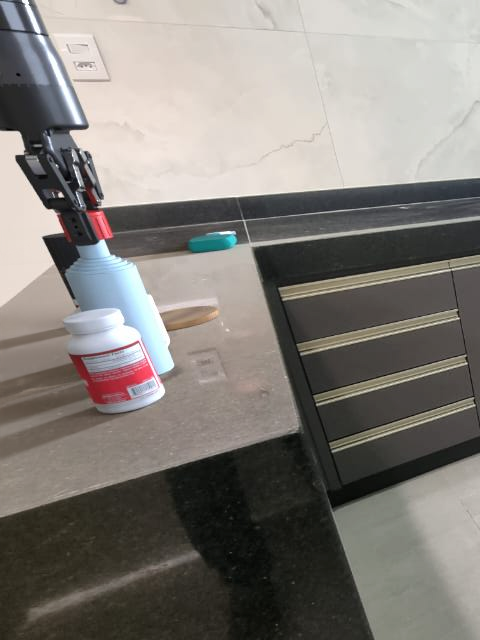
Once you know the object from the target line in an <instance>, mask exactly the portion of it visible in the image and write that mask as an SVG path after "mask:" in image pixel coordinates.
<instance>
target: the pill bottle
mask: <svg viewBox="0 0 480 640" xmlns="http://www.w3.org/2000/svg"><path fill="white" fill-rule="evenodd" d="M70 315H71V314H70ZM62 323H63V325H64V328H65V329H66V331H67V333H68V334H69V335H72V337H70V338H69V339H68V340H67V341H66V343H65V350H66V352H67V355H68V357H69V359H70V360H71V361H72V364H73V365H74V367H75V370H76V372H77V373H78V375H79V378H80V379H81V381H82V383H83V385H84V387H85V388H86V389H85V390H86V391H87V393H88V394H89V396H90V399H91V400H92V402H93V404H94V406H95V407H96V409H97V410H98V411H99V412H100V413H102V414H121V413H122V414H123V413H128V412H131V411H135V410H139V409H142V408H145V407H147V406H148V407H149V406H150V405H152V404H154V403H155V402H158V401H159V400H160V399H162V398H163V396H164V395H165V393H166V390H165V386H164V385H163V382H162V380H161V378H160V375H158V373H157V371H156V369H155V367H154V365H153V362H152V360H151V358H150V356H149V354H148V351H147V349H146V347H145V345H144V342H143V340H142V338H141V336H140V334H139V332H138V331H137V330H135V329H134V328H131V327H128V326H124V325H123V323H124V318H123V316H122V314H121V312H120V310H119V309H116V308H105V309H96V310H90V311H85V312H81V313H77V314H74V315H71V316H69V315H68V316H66V317H64V318H63V319H62Z"/></svg>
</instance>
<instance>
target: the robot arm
mask: <svg viewBox="0 0 480 640" xmlns="http://www.w3.org/2000/svg"><path fill="white" fill-rule="evenodd" d="M75 89H76V88H75V87H74V84H73V82H72V80H71V77H70V75H69V73H68V70H67V68H66V65H65V63H64V61H63V58H62V57H61V55H60V53H59V52H58V50H57V48H56V47H55V45H54V42H53V40H52V38H50V34H49V31H48V29H47V27H46V25H45V22H44V19H43V17H42V14H41V12H40V9H39V8H38V5H37V3H36V1H35V0H0V132H18V133H19V134H20V135H21V140H22V143H23V148H24V150H23V154H15V155H14V158H15V159H14V160H15V162H16V164H17V165H18V167H19V169H20V170H21V171H22V173H23V174H24V177H26V180H27V181H28V182H29V184H30V186H31V187H32V189H33V190H34V192H35V193H36V195H37V197H38V198H39V200H40V201H41V203H42V205H43V207H44V208H45V209H46V210H52V211H54V213H55V214H56V215H57V214H60V213H61V214H60V216H61V219H62V221H63V223H64V225H65V227H66V229H67V232H68V234H69V236H70V238H71V240H72V243H73V244H74V245H76V246H89V245H96V244H98V243H99V242H100V240H99V237H98V235H97V233H96V230H95V228H94V226H93V224H92V221H91V219H90V217H89V214H88V212H86V211H90V210H102V209H101V207H102V203H103V202H102V200H103V201H104V200H105V195H104V192H103V190H102V187H101V183H100V180H99V176H98V173H97V171H96V167H95V164H94V160H93V156H92V154H91V152H90V151H88V150H84V149H83V148H81V147H78V145H77V143H76V141H75V140H74V137H73V136H72V135H71V133H70V132H71V131H87V130H88V129H89V128H90V124H89V121H88V119H87V116H86V114H85V111H84V109H83V106H82V104H81V102H80V99H79V96H78V93H77V92H76V90H75ZM60 193H61V194H62V196H59V194H60Z"/></svg>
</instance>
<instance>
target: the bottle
mask: <svg viewBox="0 0 480 640" xmlns="http://www.w3.org/2000/svg"><path fill="white" fill-rule="evenodd" d="M76 247H77V250H78V252H79V254H80V257H81V258H79V259H77V260H78V261H76V262H74V265H71V266H70V268H69V269H67V270H66V272H67V273H65V276H66V278H67V280H68V282H69V285H70V287H71V289H72V291H73V294H74V296H75V298H76V300H77V303H78V305H79V307H80V309H81V312H85V311H90V310H96V309H105V308H116V309H119V310H120V312H121V314H122V316H123V318H124V323H123V325H124V326H128V327H131V328H134V329H135V330H137V331H138V332H139V334H140V336H141V338H142V340H143V342H144V345H145V347H146V349H147V351H148V354H149V356H150V358H151V360H152V362H153V365H154V367H155V369H156V371H157V373H158V376H161V375H163V374H166V373H168V372H169V371H171V370H173V368H174V367H175V363H174V361H173V357H172V356H171V352H170V350H169V348H168V347H169V346H168V347H167V345H166V342H165V340H164V337H163V335H162V332H161V329H160V327H159V324H158V322H157V319H156V317H155V314H154V311H153V309H152V306H151V304H150V301H149V298H148V296H147V291H146V288H145V286H144V283H143V280H142V278H141V275H140V273H139V271H138V268H137V266H136V264H134V263H133V262H132V261H129V260H127V259H126V258H121V257H120V256H116V255H115V254H113V253H112V254H111V253H110V251H109V247H108V245H107V243H106V240H105V239H104V240H100V242H99V243H98V244H96V245H89V246H76Z"/></svg>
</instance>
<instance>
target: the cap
mask: <svg viewBox="0 0 480 640" xmlns="http://www.w3.org/2000/svg"><path fill="white" fill-rule="evenodd" d="M86 212H88V214H89V217H90V219H91V221H92V224H93V226H94V228H95V230H96V233H97V235H98V237H99V240H104V241H105V240H109V239H111V238H114V233H113V231H112V228H111V226H110V224H109V222H108V221H109V220H107V217H106V215H105V213H104V211H103V209H101V210H90V211H86ZM60 214H61V213H60ZM60 214H57V213H56V217H57V219H58V222H59V225H60V227H61V229H62V231H63V233H65V236H66V238H67V240H68V241H69V242H72V240H71V238H70V236H69V234H68V232H67V229H66V227H65V225H64V223H63V221H62V219H61V216H60Z"/></svg>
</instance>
